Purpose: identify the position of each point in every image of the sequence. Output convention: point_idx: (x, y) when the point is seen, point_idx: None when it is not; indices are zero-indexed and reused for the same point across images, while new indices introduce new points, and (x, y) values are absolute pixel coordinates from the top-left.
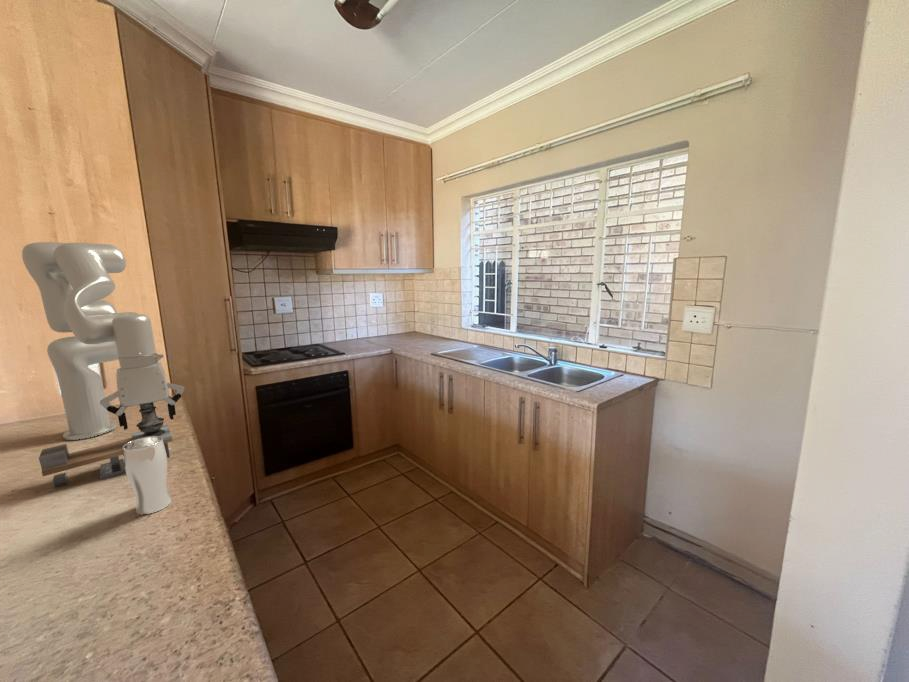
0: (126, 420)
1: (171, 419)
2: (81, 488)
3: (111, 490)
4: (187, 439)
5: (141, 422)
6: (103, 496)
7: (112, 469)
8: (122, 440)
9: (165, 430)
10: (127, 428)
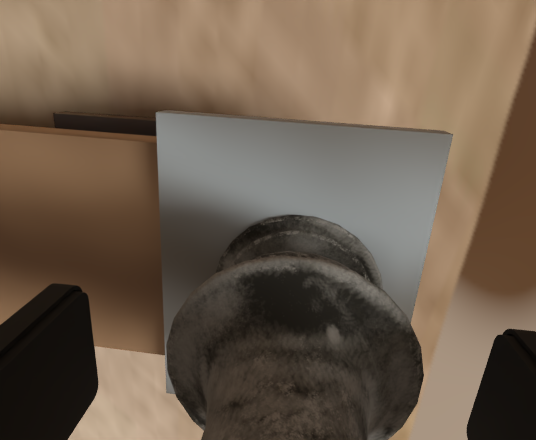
0: (46, 343)
1: (473, 428)
2: None
3: (130, 384)
4: (520, 13)
5: (205, 402)
6: (111, 406)
7: None
8: (106, 152)
9: (389, 283)
10: (95, 390)
